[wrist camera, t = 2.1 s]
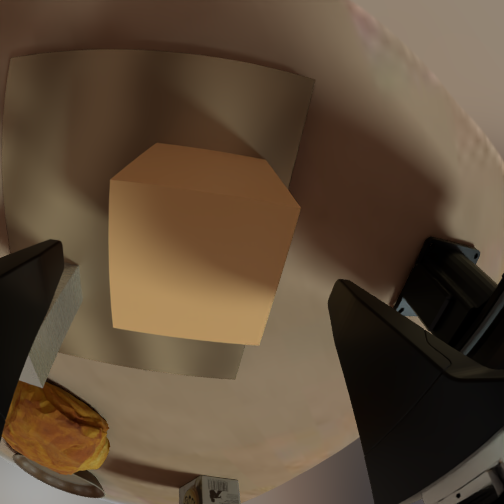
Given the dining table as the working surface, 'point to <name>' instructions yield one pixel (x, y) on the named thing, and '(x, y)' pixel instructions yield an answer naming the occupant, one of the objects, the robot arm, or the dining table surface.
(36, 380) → the post
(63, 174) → the base board
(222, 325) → the orange rectangular block
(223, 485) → the coffee box
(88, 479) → the plant saucer
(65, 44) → the dining table surface
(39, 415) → the croissant
